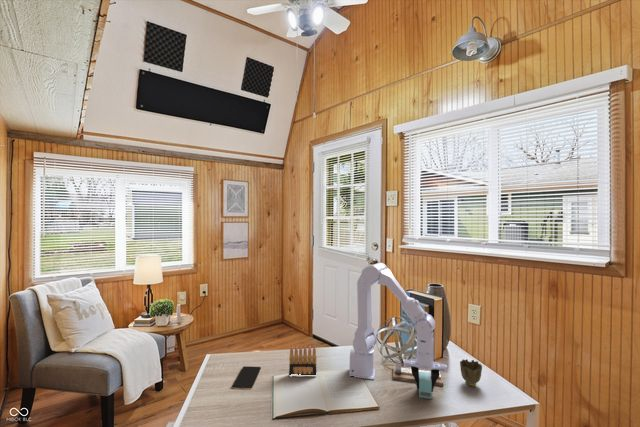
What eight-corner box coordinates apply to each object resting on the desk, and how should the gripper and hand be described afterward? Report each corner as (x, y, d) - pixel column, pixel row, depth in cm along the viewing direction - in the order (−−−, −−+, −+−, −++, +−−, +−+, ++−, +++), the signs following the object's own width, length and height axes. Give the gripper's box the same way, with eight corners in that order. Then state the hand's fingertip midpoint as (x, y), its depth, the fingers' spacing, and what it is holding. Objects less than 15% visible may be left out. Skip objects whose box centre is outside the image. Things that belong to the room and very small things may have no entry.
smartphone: (231, 386, 112) (243, 366, 127) (231, 389, 112) (243, 368, 127) (251, 387, 112) (261, 366, 127) (251, 390, 112) (261, 369, 127)
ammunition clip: (288, 377, 121) (289, 346, 121) (289, 374, 122) (289, 344, 122) (316, 377, 121) (316, 346, 121) (316, 374, 123) (316, 344, 123)
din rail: (394, 373, 121) (394, 369, 121) (394, 367, 126) (394, 363, 126) (441, 379, 117) (441, 375, 117) (439, 373, 122) (439, 368, 122)
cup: (460, 388, 114) (460, 366, 114) (459, 378, 121) (459, 357, 121) (483, 392, 111) (483, 370, 111) (480, 382, 118) (480, 360, 118)
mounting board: (393, 379, 120) (393, 376, 120) (393, 368, 128) (393, 365, 128) (443, 386, 115) (443, 382, 115) (440, 374, 124) (440, 371, 124)
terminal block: (419, 398, 108) (419, 380, 108) (418, 387, 114) (418, 371, 114) (431, 400, 107) (431, 382, 107) (429, 389, 113) (429, 372, 113)
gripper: (404, 353, 108) (403, 392, 108) (448, 358, 105) (448, 398, 105) (403, 344, 115) (403, 381, 115) (445, 349, 112) (445, 387, 112)
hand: (424, 389), depth 111 cm, fingers closed on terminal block, 4 cm apart
